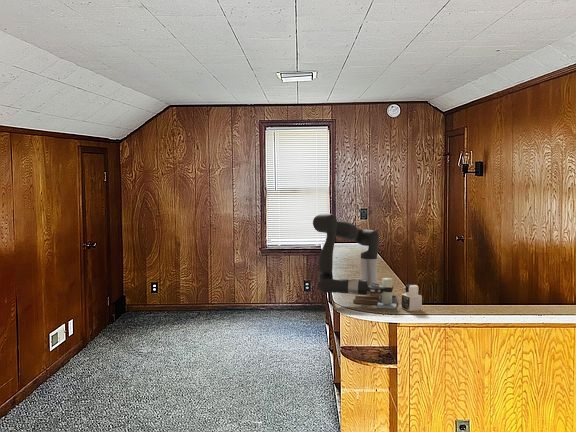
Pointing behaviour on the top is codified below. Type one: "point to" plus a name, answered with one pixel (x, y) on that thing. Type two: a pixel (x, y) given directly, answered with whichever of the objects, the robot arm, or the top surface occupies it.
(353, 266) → the top surface
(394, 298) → the charcoal pit
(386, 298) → the sage canister
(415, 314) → the top surface
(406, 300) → the medicine bottle
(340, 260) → the top surface
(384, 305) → the slate-blue platform
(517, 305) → the top surface
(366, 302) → the walnut channel
